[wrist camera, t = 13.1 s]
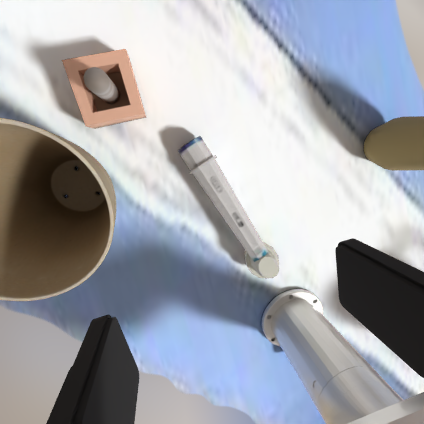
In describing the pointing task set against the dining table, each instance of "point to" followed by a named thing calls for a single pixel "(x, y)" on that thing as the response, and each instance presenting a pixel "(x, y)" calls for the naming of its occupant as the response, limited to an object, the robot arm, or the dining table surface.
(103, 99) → the post stand
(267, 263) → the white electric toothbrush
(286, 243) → the dining table surface
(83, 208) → the plant pot
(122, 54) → the ring
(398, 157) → the squeeze bottle
